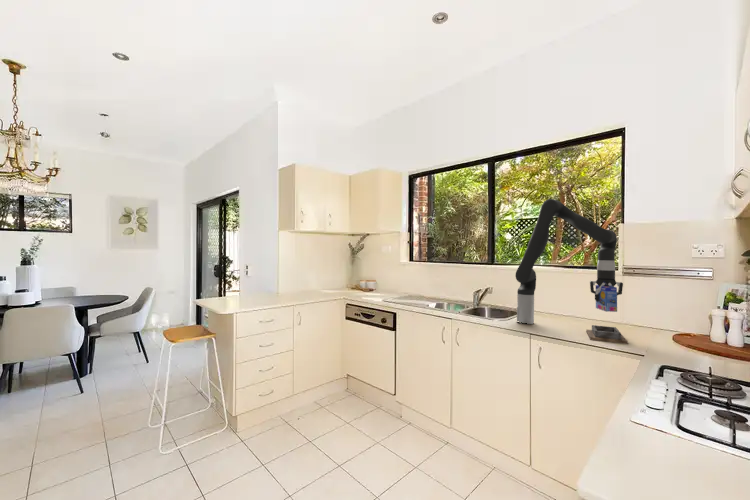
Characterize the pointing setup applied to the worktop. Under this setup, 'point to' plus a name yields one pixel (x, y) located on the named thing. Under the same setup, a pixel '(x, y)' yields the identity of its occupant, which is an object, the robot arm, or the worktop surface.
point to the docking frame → (606, 334)
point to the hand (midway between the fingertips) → (605, 302)
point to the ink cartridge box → (607, 298)
